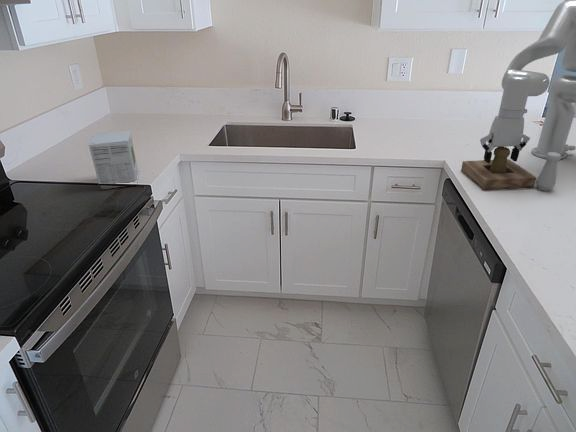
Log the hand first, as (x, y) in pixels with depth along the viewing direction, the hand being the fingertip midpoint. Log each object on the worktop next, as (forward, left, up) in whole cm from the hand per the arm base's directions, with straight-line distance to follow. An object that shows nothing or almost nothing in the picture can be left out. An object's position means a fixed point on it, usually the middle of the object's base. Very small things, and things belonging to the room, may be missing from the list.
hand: (500, 160), depth 149 cm
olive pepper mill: (0, 0, -6) cm, 6 cm away
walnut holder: (0, 0, -7) cm, 7 cm away
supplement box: (+139, -14, -7) cm, 140 cm away
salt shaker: (-12, +10, -7) cm, 17 cm away
